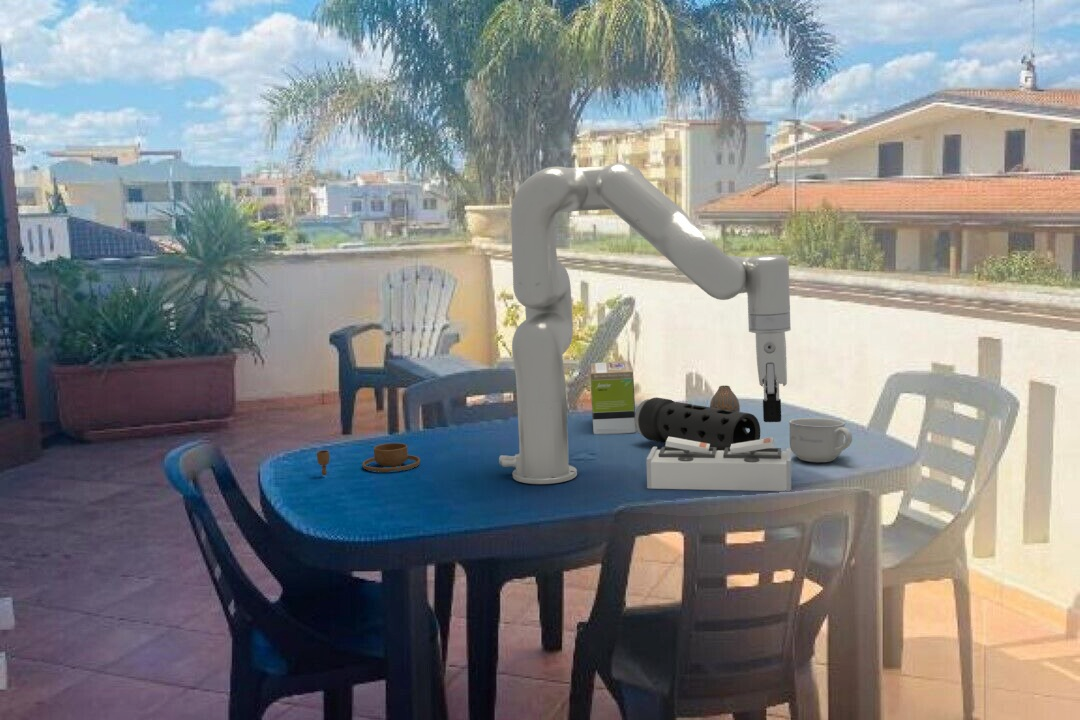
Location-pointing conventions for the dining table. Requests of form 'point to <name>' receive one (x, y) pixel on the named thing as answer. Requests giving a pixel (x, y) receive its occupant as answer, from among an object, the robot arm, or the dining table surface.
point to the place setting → (380, 458)
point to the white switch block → (719, 469)
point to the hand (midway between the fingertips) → (772, 420)
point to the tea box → (612, 398)
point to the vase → (725, 399)
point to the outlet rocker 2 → (752, 445)
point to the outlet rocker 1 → (687, 445)
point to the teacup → (818, 438)
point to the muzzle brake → (694, 423)
